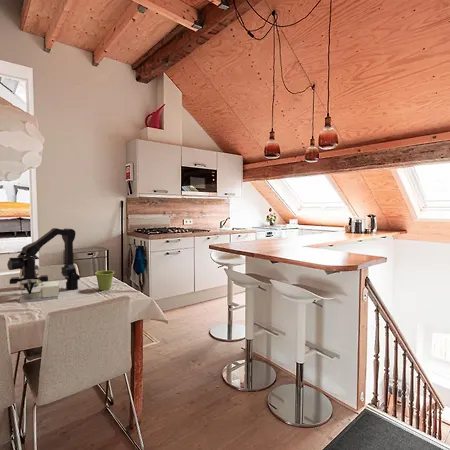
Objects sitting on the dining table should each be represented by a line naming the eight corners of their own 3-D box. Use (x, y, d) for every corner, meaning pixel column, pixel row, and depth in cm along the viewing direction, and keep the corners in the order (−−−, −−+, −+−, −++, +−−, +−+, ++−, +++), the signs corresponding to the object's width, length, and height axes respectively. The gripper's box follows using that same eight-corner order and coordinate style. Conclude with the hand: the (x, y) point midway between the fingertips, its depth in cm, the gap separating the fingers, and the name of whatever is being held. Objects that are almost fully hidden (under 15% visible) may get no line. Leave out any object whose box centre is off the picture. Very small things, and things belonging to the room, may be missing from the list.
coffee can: (42, 286, 205) (42, 265, 204) (30, 290, 195) (29, 268, 194) (29, 285, 207) (29, 264, 206) (16, 289, 197) (16, 267, 196)
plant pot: (98, 293, 192) (98, 275, 191) (92, 288, 201) (92, 272, 200) (117, 289, 200) (117, 272, 199) (110, 286, 209) (110, 269, 208)
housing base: (58, 292, 191) (58, 287, 191) (57, 298, 179) (57, 292, 179) (22, 296, 182) (22, 290, 182) (19, 302, 171) (19, 296, 170)
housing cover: (59, 290, 191) (59, 280, 191) (58, 295, 180) (58, 285, 179) (42, 291, 187) (42, 282, 186) (41, 297, 176) (40, 287, 175)
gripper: (48, 264, 189) (48, 288, 190) (12, 266, 180) (12, 292, 181) (47, 267, 179) (47, 293, 180) (9, 269, 170) (9, 297, 171)
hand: (29, 293), depth 178 cm, fingers closed
